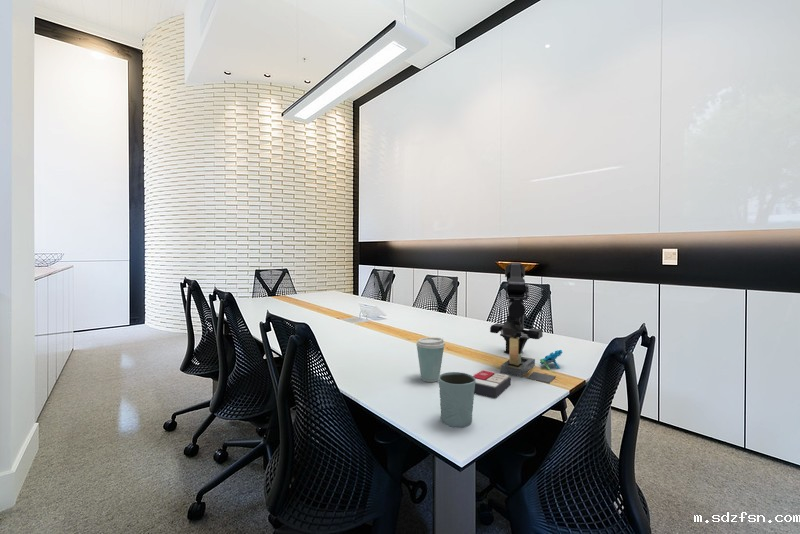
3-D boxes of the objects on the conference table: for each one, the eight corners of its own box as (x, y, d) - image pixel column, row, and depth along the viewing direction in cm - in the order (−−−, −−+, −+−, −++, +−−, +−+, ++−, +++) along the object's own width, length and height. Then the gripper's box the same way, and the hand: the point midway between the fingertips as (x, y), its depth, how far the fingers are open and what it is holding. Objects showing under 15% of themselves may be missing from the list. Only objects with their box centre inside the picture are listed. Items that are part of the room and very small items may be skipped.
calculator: (511, 375, 125) (496, 385, 113) (511, 387, 125) (495, 399, 113) (481, 369, 132) (464, 378, 120) (481, 380, 132) (464, 391, 120)
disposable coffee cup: (412, 382, 127) (412, 340, 127) (420, 372, 138) (420, 334, 137) (440, 386, 124) (441, 343, 123) (447, 375, 134) (447, 336, 133)
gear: (552, 357, 151) (564, 345, 143) (561, 370, 147) (574, 358, 140) (532, 364, 146) (544, 352, 139) (541, 377, 143) (553, 366, 136)
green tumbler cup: (434, 424, 96) (434, 381, 96) (443, 409, 106) (443, 369, 105) (471, 431, 93) (472, 386, 92) (477, 414, 102) (478, 373, 102)
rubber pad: (526, 378, 131) (526, 377, 131) (533, 372, 137) (533, 371, 137) (549, 383, 126) (549, 382, 126) (555, 377, 132) (555, 376, 132)
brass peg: (509, 363, 138) (509, 338, 137) (512, 361, 140) (512, 336, 140) (517, 365, 135) (518, 339, 135) (521, 363, 138) (521, 337, 138)
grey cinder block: (500, 372, 137) (500, 365, 137) (515, 362, 150) (515, 355, 149) (521, 377, 132) (521, 369, 132) (534, 366, 145) (534, 359, 145)
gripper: (484, 313, 136) (484, 353, 137) (534, 319, 125) (533, 362, 126) (496, 309, 145) (495, 347, 146) (543, 314, 134) (542, 355, 134)
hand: (515, 352), depth 138 cm, fingers closed on brass peg, 3 cm apart
